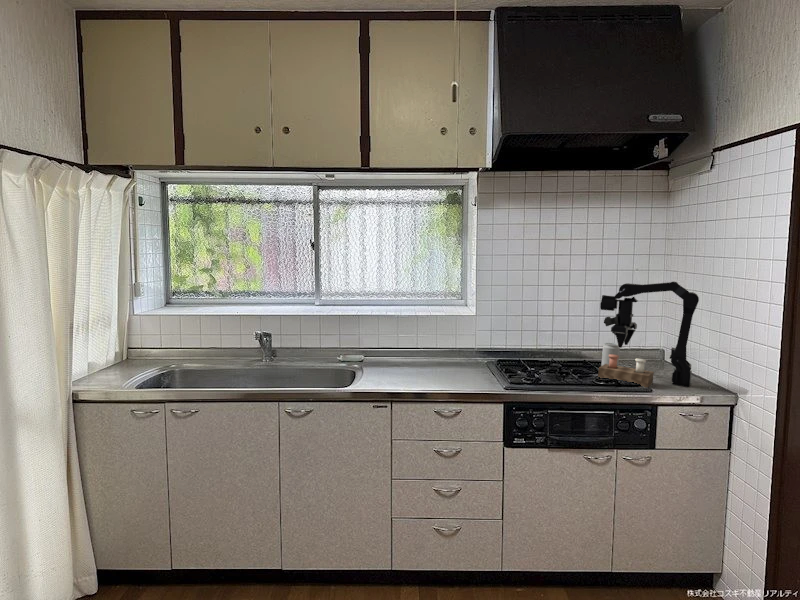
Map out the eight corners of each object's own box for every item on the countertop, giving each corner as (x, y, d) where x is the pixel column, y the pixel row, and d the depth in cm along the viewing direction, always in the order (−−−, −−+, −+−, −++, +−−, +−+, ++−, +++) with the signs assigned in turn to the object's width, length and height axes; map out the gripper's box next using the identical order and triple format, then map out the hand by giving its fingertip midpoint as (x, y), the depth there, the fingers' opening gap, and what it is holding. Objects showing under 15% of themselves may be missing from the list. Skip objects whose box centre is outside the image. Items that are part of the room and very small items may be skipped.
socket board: (652, 383, 221) (653, 371, 221) (647, 387, 214) (648, 375, 213) (604, 374, 234) (605, 363, 233) (597, 378, 226) (598, 367, 225)
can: (615, 371, 241) (617, 345, 240) (599, 368, 246) (601, 343, 245) (619, 368, 247) (621, 343, 246) (603, 365, 252) (605, 341, 251)
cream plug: (645, 373, 220) (647, 359, 220) (643, 375, 217) (644, 361, 216) (635, 371, 223) (636, 357, 222) (633, 373, 219) (634, 359, 219)
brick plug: (619, 368, 227) (620, 355, 226) (616, 370, 223) (617, 356, 223) (609, 367, 229) (610, 353, 229) (606, 368, 226) (607, 355, 225)
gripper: (612, 308, 242) (610, 341, 244) (600, 311, 228) (598, 346, 229) (638, 310, 235) (636, 344, 237) (626, 314, 221) (624, 350, 222)
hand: (623, 346), depth 231 cm, fingers open, 9 cm apart
